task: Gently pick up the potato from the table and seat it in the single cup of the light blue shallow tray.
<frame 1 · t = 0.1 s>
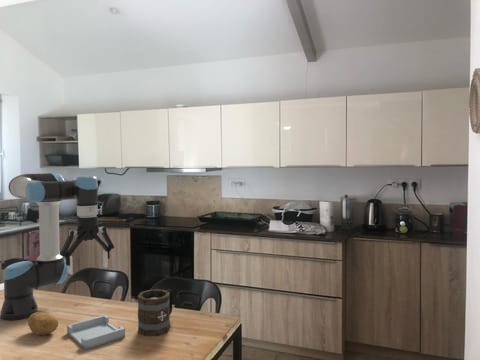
hand: (88, 270, 152), 28 cm above the table, fingers open, 13 cm apart
light blue shallow tray: (95, 335, 159), on the table
mug: (158, 327, 167), on the table
potato: (44, 334, 160), on the table
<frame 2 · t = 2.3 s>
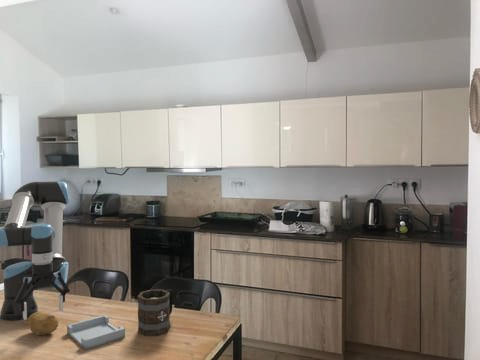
hand: (43, 314, 159), 8 cm above the table, fingers open, 13 cm apart
nothing on the table moved.
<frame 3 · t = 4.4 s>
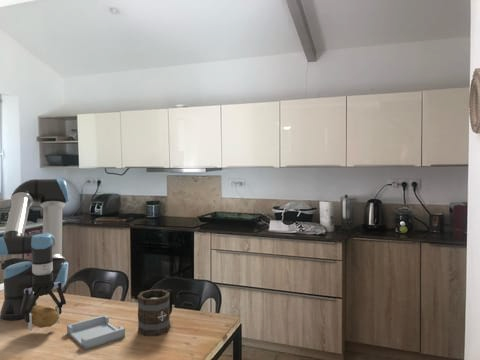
hand: (44, 325, 161), 3 cm above the table, fingers closed on potato, 10 cm apart
potato: (44, 326, 161), point 2 cm above the table, touching gripper
everything else where it was.
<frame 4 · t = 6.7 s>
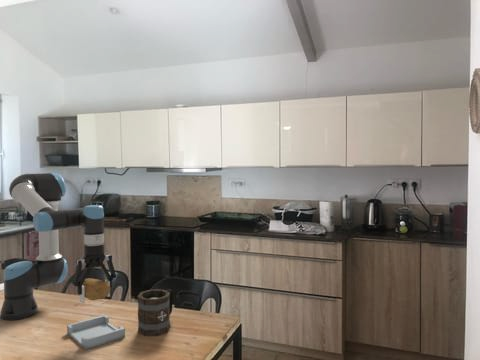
hand: (95, 298, 158), 15 cm above the table, fingers closed on potato, 10 cm apart
potato: (95, 299, 158), point 15 cm above the table, touching gripper
everything else where it was.
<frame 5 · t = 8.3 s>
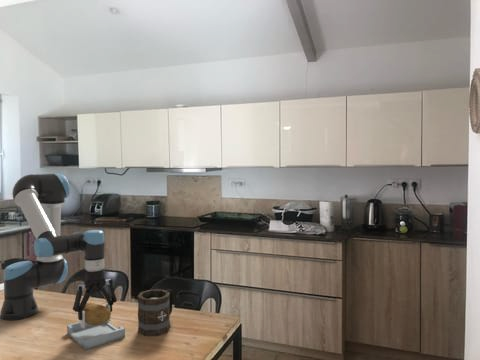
hand: (95, 323, 158), 5 cm above the table, fingers closed on potato, 10 cm apart
potato: (96, 324, 158), point 4 cm above the table, touching gripper
everything else where it was.
when the fingers open (3 cm above the table, at t = 9.2 s): potato drops 2 cm, resting on light blue shallow tray.
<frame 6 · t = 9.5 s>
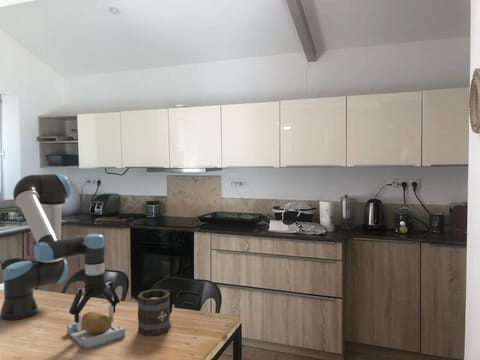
hand: (95, 325, 158), 4 cm above the table, fingers open, 12 cm apart
potato: (97, 333, 159), resting on light blue shallow tray
everything else where it was.
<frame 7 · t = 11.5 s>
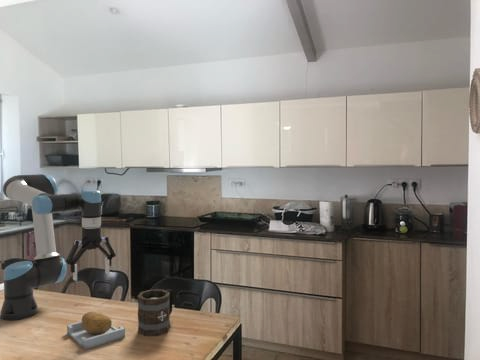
hand: (91, 276, 165), 22 cm above the table, fingers open, 13 cm apart
nothing on the table moved.
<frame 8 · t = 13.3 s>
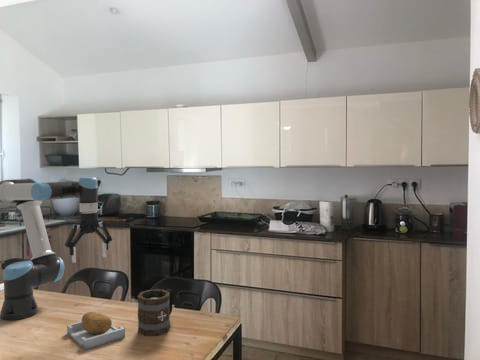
hand: (89, 259, 174), 27 cm above the table, fingers open, 13 cm apart
nothing on the table moved.
at the end: potato inside the target area on the light blue shallow tray (0.7 cm from its centre), point 0.4 cm above the light blue shallow tray's base; the gripper is holding nothing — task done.
